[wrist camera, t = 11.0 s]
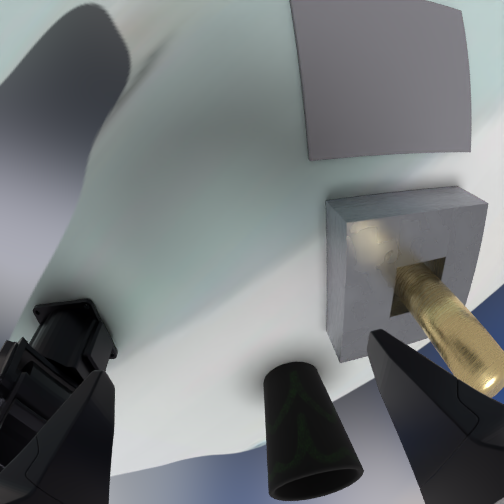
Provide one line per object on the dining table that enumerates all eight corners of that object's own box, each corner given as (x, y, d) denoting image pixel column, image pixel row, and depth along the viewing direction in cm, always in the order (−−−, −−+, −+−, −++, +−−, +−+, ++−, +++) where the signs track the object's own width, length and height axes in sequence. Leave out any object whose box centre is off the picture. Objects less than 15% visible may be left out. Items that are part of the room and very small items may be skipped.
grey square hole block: (326, 330, 27) (339, 362, 23) (325, 200, 21) (346, 223, 18) (437, 302, 27) (457, 327, 24) (457, 186, 22) (488, 203, 18)
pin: (371, 273, 25) (462, 408, 12) (388, 239, 23) (500, 365, 11) (399, 280, 25) (489, 402, 13) (416, 248, 24) (522, 363, 12)
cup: (283, 344, 27) (314, 465, 17) (342, 366, 30) (382, 466, 19) (238, 391, 30) (250, 499, 19) (296, 407, 32) (319, 501, 22)
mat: (309, 159, 20) (310, 160, 19) (287, -15, 14) (288, -16, 14) (467, 150, 20) (470, 152, 20) (458, 11, 15) (461, 10, 14)
